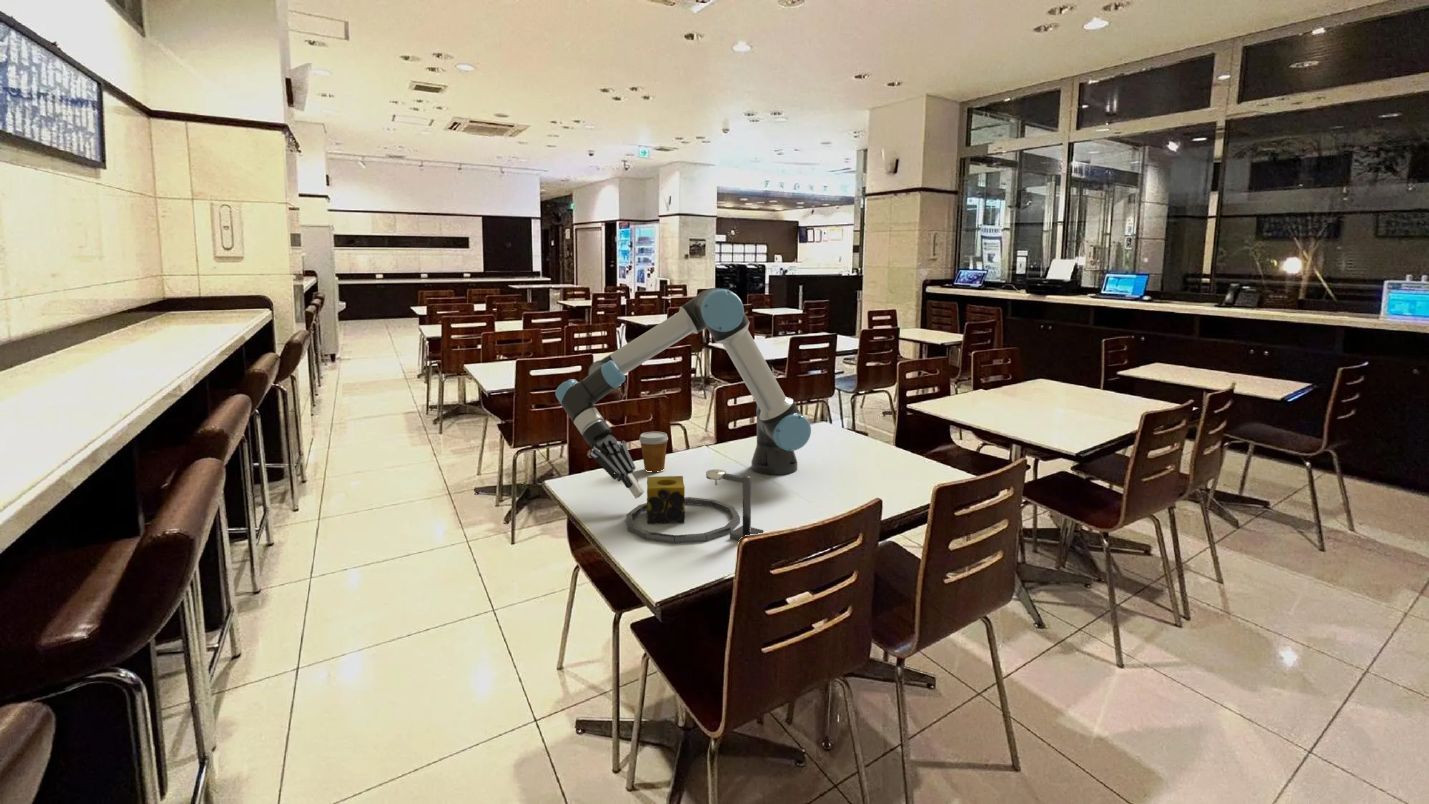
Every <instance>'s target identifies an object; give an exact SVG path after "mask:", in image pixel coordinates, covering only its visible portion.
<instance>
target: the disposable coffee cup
mask: <svg viewBox="0 0 1429 804" xmlns="http://www.w3.org/2000/svg"><path fill="white" fill-rule="evenodd" d="M638 440H639V442H640V446H641V454H642V459H643V466H644V470H645V469H646V470H647V471H652V472H657V471H661V470H663V469H664V470H665V464H666V456H667V455H666V454H667V445H668V440H669V437H668V434H667V433H666V432H662V431H647V432H642V433H640V436H639V438H638Z"/></svg>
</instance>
